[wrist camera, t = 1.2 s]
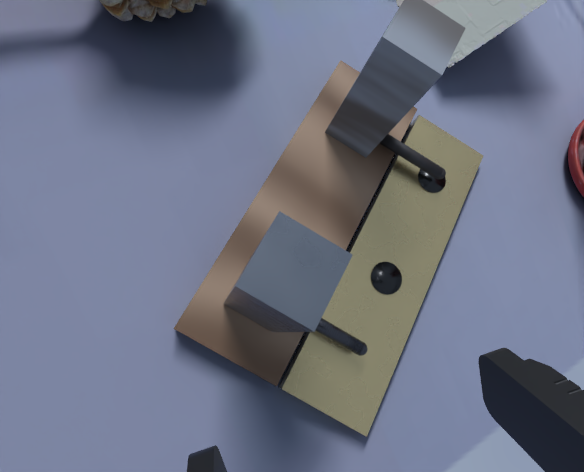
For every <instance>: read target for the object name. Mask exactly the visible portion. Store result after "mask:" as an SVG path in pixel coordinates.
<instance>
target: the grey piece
mask: <svg viewBox="0 0 584 472" xmlns="http://www.w3.org/2000/svg"><path fill="white" fill-rule="evenodd" d="M396 1H397V5H398V6H399V7H400V6H401V4H402V2H403V1H404V0H396ZM424 1H425V2H427V3H428V4H430V5H431V6H433V7H434V8H436V9H438V10H439V11H441V12H442V13H444V14H445V15H447V16H448V17H450V18H451V19H453V20H454V21H456V22H457V23H459V24H460V25H462V26H463V27H465V28H466V29H465V31H464V33H463V35H462V37H461V39H460V41H459V43H458V45H457V47H456V49H455V51H454V53H453V55H452V57H451V59H450V61H449V63H448V65H447V67H448V68H449V67H452V66H453V65H454V64H453V63H455V62H456V63H457V62H458V61H460V60H462V59H463V58H464V57H466V55H469V54H470V53H471V52H472V51H475V49H478V48H479V47H480V46H482V44H486V42H488V41H489V40H491V39H493V37H496V35H498V34H501V32H503V31H504V30H505V29H507V28H508V27H510V26H512V24H515V23H516V22H518V21H519V20H520V19H522V18H523V17H525V15H528V13H529V12H532V10H535V9H537V8H539V7H540V6H541V5H542V4H544V3H545V2H547V0H424Z"/></svg>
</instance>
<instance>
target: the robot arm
mask: <svg viewBox="0 0 584 472" xmlns="http://www.w3.org/2000/svg"><path fill="white" fill-rule="evenodd" d="M479 368H480V376H481V384H482V392H483V399H484V402H485V405H486V407H487V409H488V411H489V413H490V414H491V416H492V417H493V418H494V420H495V421H496V422H497V423H498V424H499V425H500V426H501V427H502V428H503V429H504V430H505V431H506V432H507V433H508V434H509V435H510V436H511V437H512V438H513V439H514V440H515V441H516V442H517V443H518V444H519V445H520V446H521V447H522V448H523V449H524V450H525V451H526V452H527V453H528V455H529V456H531V458H532V459H533V460H534V461H535V462H536V463H537V464H538V465H539V466H540V467H541V468H542V469H543V470H544V471H545V472H584V390H581V388H580V387H579V386H577V385H576V384H575V383H573V382H572V381H570V380H569V381H568V380H567V378H566V377H565V376H563V375H562V374H560V373H559V372H557V371H556V370H555V369H553V368H552V367H550V366H548V365H545V364H542V363H540V362H537V361H534V360H532V359H527V360H523V359H521V358H520V357H518V356H517V355H516V354H514V353H513V352H512V351H510V350H509V349H507V348H501V349H498V350H495V351H492V352H489V353H487V354H484V355H481V356H480V357H479ZM187 472H227V470H226V468H225V465H224V462H223V460H222V457H221V454H220V452H219V449H218V447H217V446H213V447H210V448H207V449H204V450H201V451H198V452H195V453H192V454H190V455H189V457H188V466H187Z"/></svg>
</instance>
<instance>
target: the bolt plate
mask: <svg viewBox="0 0 584 472" xmlns="http://www.w3.org/2000/svg"><path fill="white" fill-rule="evenodd" d="M402 143H404V144H405V145H407V146H409V147H410V148H412V149H413V150H415V151H417V152H418V153H420V154H421V155H423V156H424V157H426V158H428V159H429V160H431V161H432V162H434V163H436V164H437V165H439V166H440V167H442V168H444V169H445V171H446V175H445V177H444V178H443V179H436V178H434V177H433V176H431V175H429V174H428V173H426V172H425V171H423V170H421V169H420V168H418V167H417V166H415V165H413V164H412V163H410V162H409V161H407V160H405V159H404V158H402V157H401V156H399V155H397V154H396V156H395V158H394V160H393V162H392V164H391V166H390V168H389V170H388V172H387V174H386V176H385V178H384V180H383V182H382V184H381V186H380V188H379V190H378V192H377V194H376V196H375V198H374V200H373V202H372V204H371V206H370V208H369V210H368V212H367V214H366V216H365V218H364V220H363V222H362V224H361V226H360V228H359V230H358V232H357V234H356V236H355V238H354V240H353V241H352V243H351V245H350V247H349V249H348V251H347V252H349V253H351V254H352V257H351V260H350V262H349V264H348V266H347V268H346V270H345V272H344V274H343V276H342V278H341V280H340V282H339V284H338V286H337V288H336V290H335V292H334V294H333V296H332V298H331V300H330V302H329V304H328V306H327V308H326V310H325V312H324V314H323V316H322V318H323V319H325V320H326V321H328V322H330V323H332V324H333V325H335V326H337V327H338V328H340V329H342V330H344V331H345V332H347V333H349V334H350V335H352V336H354V337H356V338H357V339H359V340H361V341H363V342H364V343H365V344H366V345H367V348H368V350H367V353H366V354H365V355H363V356H359V355H357V354H355V353H353V352H351V351H350V350H348V349H346V348H344V347H343V346H341V345H339V344H338V343H336V342H334V341H332V340H331V339H329V338H327V337H325V336H324V335H322V334H320V333H319V332H317V331H315V332H307V333H306V335H305V337H304V339H303V341H302V343H301V345H300V347H299V349H298V350H297V352H296V354H295V356H294V358H293V360H292V362H291V364H290V366H289V368H288V370H287V372H286V374H285V376H284V378H283V380H282V382H281V384H280V386H279V388H281V389H282V390H284V391H286V392H288V393H290V394H291V395H293V396H295V397H297V398H298V399H300V400H302V401H304V402H306V403H307V404H309V405H311V406H313V407H314V408H316V409H318V410H320V411H322V412H323V413H325V414H327V415H329V416H330V417H332V418H334V419H336V420H338V421H339V422H341V423H343V424H345V425H346V426H348V427H350V428H352V429H354V430H355V431H357V432H359V433H361V434H362V435H364V436H366V437H367V435H368V433H369V430H370V428H371V425H372V423H373V420H374V418H375V416H376V413H377V411H378V408H379V406H380V404H381V401H382V399H383V396H384V394H385V392H386V389H387V387H388V384H389V382H390V379H391V377H392V375H393V372H394V370H395V367H396V365H397V363H398V360H399V358H400V355H401V353H402V351H403V348H404V346H405V343H406V341H407V338H408V336H409V334H410V331H411V329H412V326H413V324H414V322H415V319H416V317H417V314H418V312H419V310H420V307H421V305H422V302H423V300H424V297H425V295H426V293H427V290H428V288H429V285H430V283H431V281H432V278H433V276H434V273H435V271H436V269H437V266H438V264H439V261H440V259H441V256H442V254H443V252H444V249H445V247H446V244H447V242H448V240H449V237H450V235H451V232H452V230H453V228H454V225H455V223H456V220H457V218H458V215H459V213H460V211H461V208H462V206H463V203H464V201H465V199H466V196H467V194H468V191H469V189H470V187H471V184H472V182H473V179H474V177H475V174H476V172H477V170H478V167H479V165H480V162H481V160H482V158H483V155H481V154H480V153H478V152H477V151H475V150H474V149H472V148H470V147H469V146H467V145H466V144H464V143H463V142H461V141H459V140H458V139H456V138H455V137H453V136H451V135H450V134H448V133H447V132H445V131H444V130H442V129H440V128H439V127H437V126H436V125H434V124H433V123H431V122H429V121H428V120H426V119H425V118H423V117H421V116H420V115H419V116H418V117H417V118H416V119H415V120H414V121H413V123H412V125H411V127H410V129H409V130H408V132H407V134H406V136H405V138H404V140H403V142H402Z"/></svg>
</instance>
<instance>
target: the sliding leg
mask: <svg viewBox="0 0 584 472" xmlns="http://www.w3.org/2000/svg"><path fill="white" fill-rule="evenodd" d="M351 257H352V254H351V253H349V252H347V251H346V250H344V249H342V248H341V247H339V246H337V245H336V244H334V243H332V242H331V241H329V240H327V239H326V238H324V237H322V236H321V235H319V234H317V233H316V232H314V231H312V230H311V229H309V228H307V227H306V226H304V225H302V224H301V223H299V222H297V221H295V220H294V219H292V218H290V217H289V216H287V215H285V214H284V213H282V212H280V211H279V213H278V214H277V216H276V217H275V219H274V221H273V222H272V224H271V225H270V227H269V229H268V230H267V232H266V234H265V235H264V237H263V238H262V240H261V242H260V243H259V245H258V246H257V248H256V250H255V251H254V253H253V254H252V256H251V258H250V259H249V261H248V263H247V265H246V266H245V268H244V270H243V271H242V273H241V275H240V276H239V278H238V280H237V281H236V283H235V285H234V286H233V288H232V290H231V292H230V293H229V295H228V297H227V298H226V300H225V302H224V303H223V304H224V305H226V306H228V307H229V308H231V309H233V310H235V311H236V312H238V313H240V314H242V315H243V316H245V317H247V318H249V319H250V320H252V321H254V322H256V323H257V324H259V325H261V326H263V327H264V328H266V329H268V330H270V331H271V332H315V331H317V332H319V333H320V334H322V335H324V336H325V337H327V338H329V339H331V340H332V341H334V342H336V343H338V344H339V345H341V346H343V347H344V348H346V349H348V350H350V351H351V352H353V353H355V354H357V355H359V356H363V355H365V354H366V353H367V350H368V348H367V345H366V344H365V343H364V342H363V341H361V340H359V339H357V338H356V337H354V336H352V335H350V334H349V333H347V332H345V331H344V330H342V329H340V328H338V327H337V326H335V325H333V324H332V323H330V322H328V321H326V320H325V319H323V318H322V316H323V314H324V312H325V310H326V308H327V306H328V304H329V302H330V300H331V298H332V296H333V294H334V292H335V290H336V288H337V286H338V284H339V282H340V280H341V278H342V276H343V274H344V272H345V270H346V268H347V266H348V264H349V262H350V260H351Z"/></svg>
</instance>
